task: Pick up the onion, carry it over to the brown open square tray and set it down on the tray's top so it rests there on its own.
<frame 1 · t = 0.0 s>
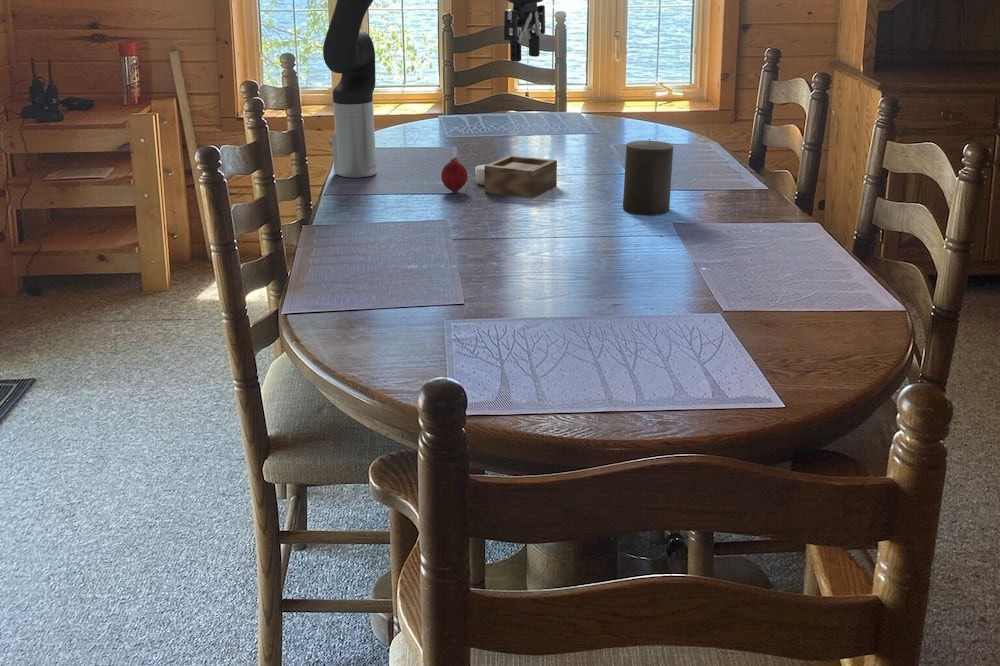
hand: (525, 58, 223), 29 cm above the table, fingers open, 8 cm apart
brown open square tray: (521, 189, 239), on the table
pillar candle: (646, 210, 222), on the table
white rounded pebble: (488, 182, 245), on the table
onion: (454, 193, 237), on the table
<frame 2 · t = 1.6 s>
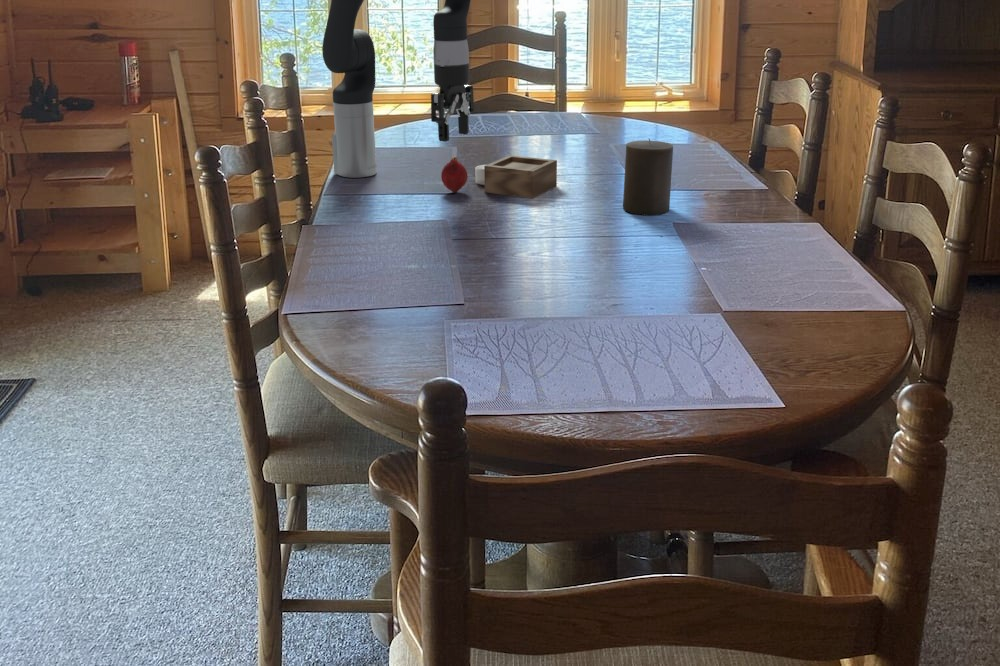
hand: (454, 137, 232), 12 cm above the table, fingers open, 8 cm apart
nothing on the table moved.
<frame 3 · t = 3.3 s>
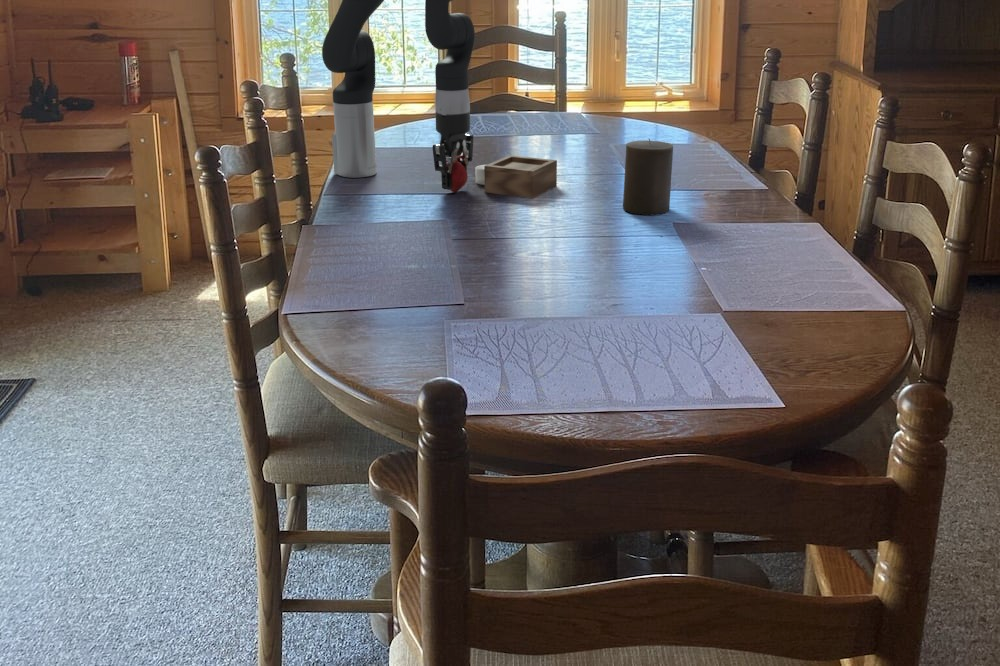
hand: (454, 185, 236), 2 cm above the table, fingers closed on onion, 6 cm apart
onion: (454, 193, 237), on the table, touching gripper
everything else where it was.
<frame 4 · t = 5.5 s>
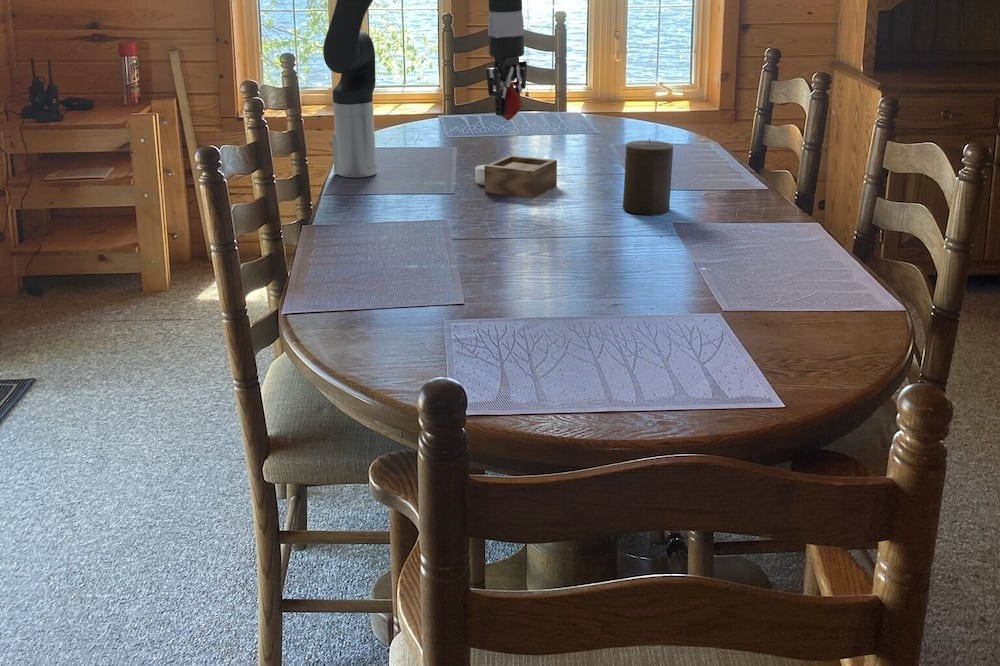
hand: (508, 112, 231), 17 cm above the table, fingers closed on onion, 6 cm apart
onion: (508, 121, 232), point 16 cm above the table, touching gripper
everything else where it was.
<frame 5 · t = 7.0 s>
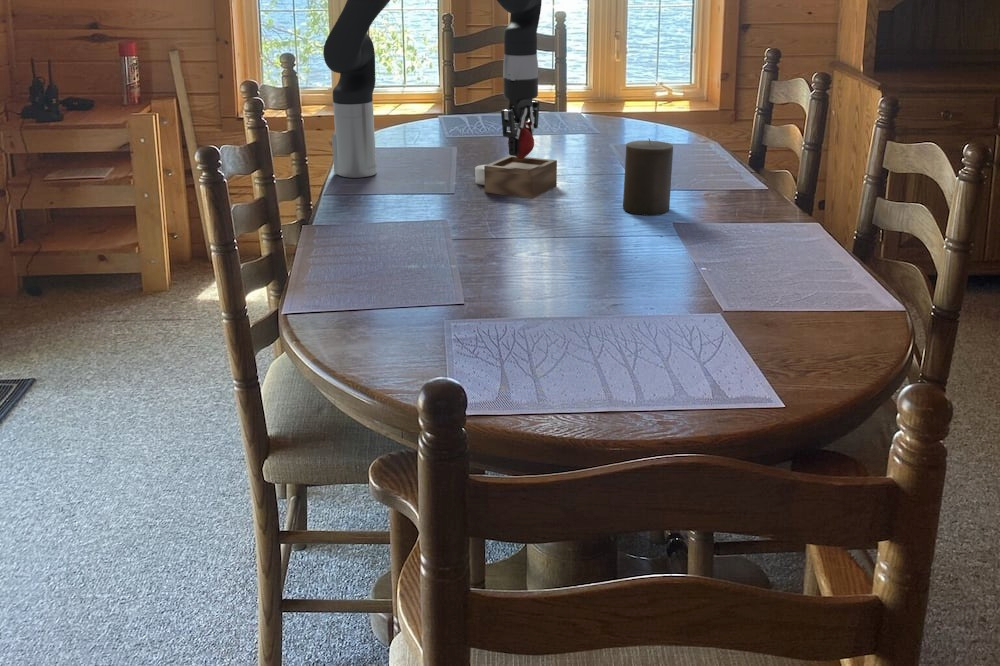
hand: (520, 152, 235), 8 cm above the table, fingers closed on onion, 6 cm apart
onion: (521, 160, 236), point 7 cm above the table, touching gripper
everything else where it was.
when the fingers open (8 cm above the table, at t = 8.0 s): onion drops 1 cm, resting on brown open square tray.
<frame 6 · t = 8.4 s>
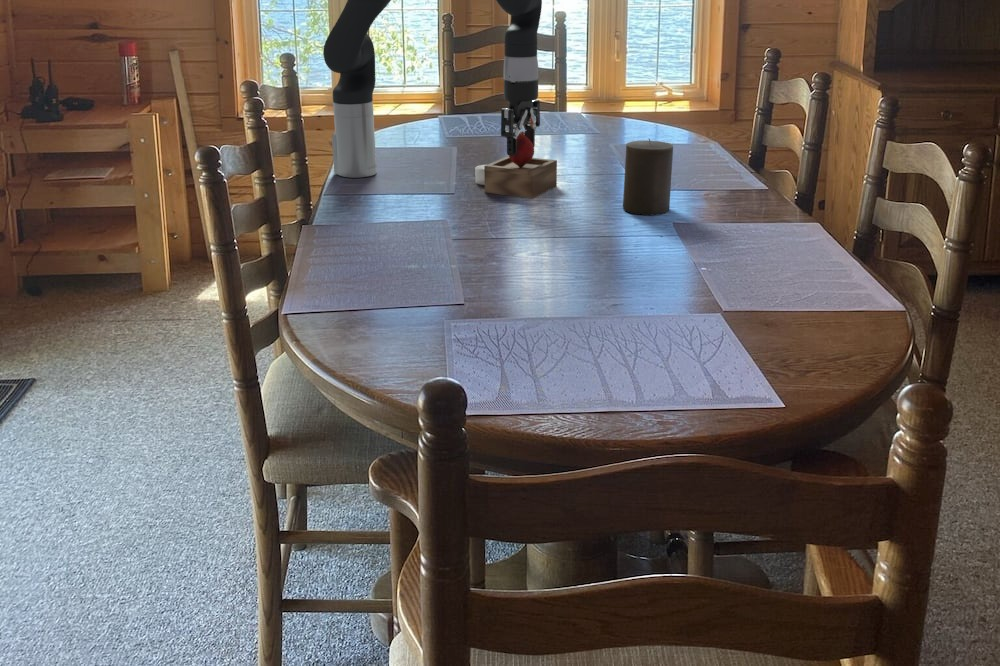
hand: (520, 151, 235), 9 cm above the table, fingers open, 8 cm apart
onion: (520, 168, 237), point 5 cm above the table, touching brown open square tray
everything else where it was.
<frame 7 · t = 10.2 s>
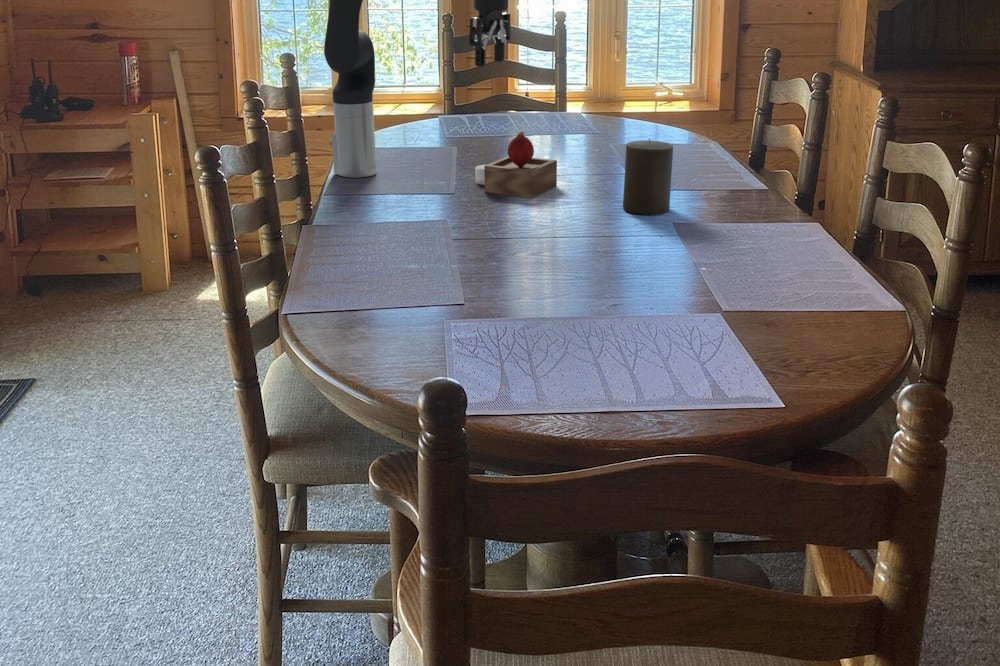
hand: (489, 63, 236), 27 cm above the table, fingers open, 8 cm apart
nothing on the table moved.
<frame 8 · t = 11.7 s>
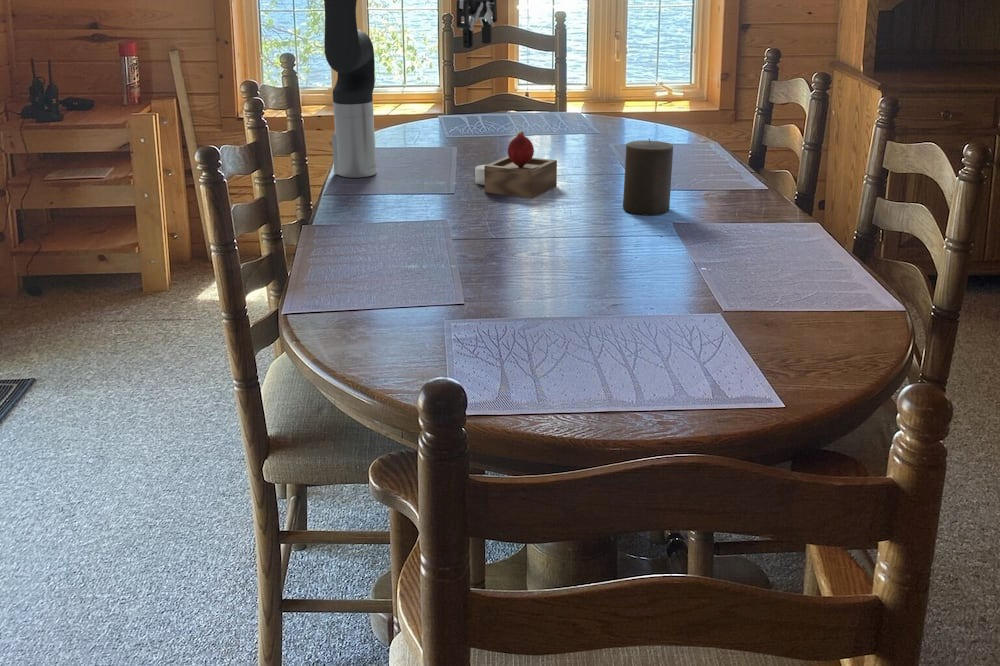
hand: (477, 45, 238), 30 cm above the table, fingers open, 8 cm apart
nothing on the table moved.
at the end: onion inside the target area on the brown open square tray (0.1 cm from its centre), point 4.8 cm above the brown open square tray's base; the gripper is holding nothing; onion touching brown open square tray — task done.
